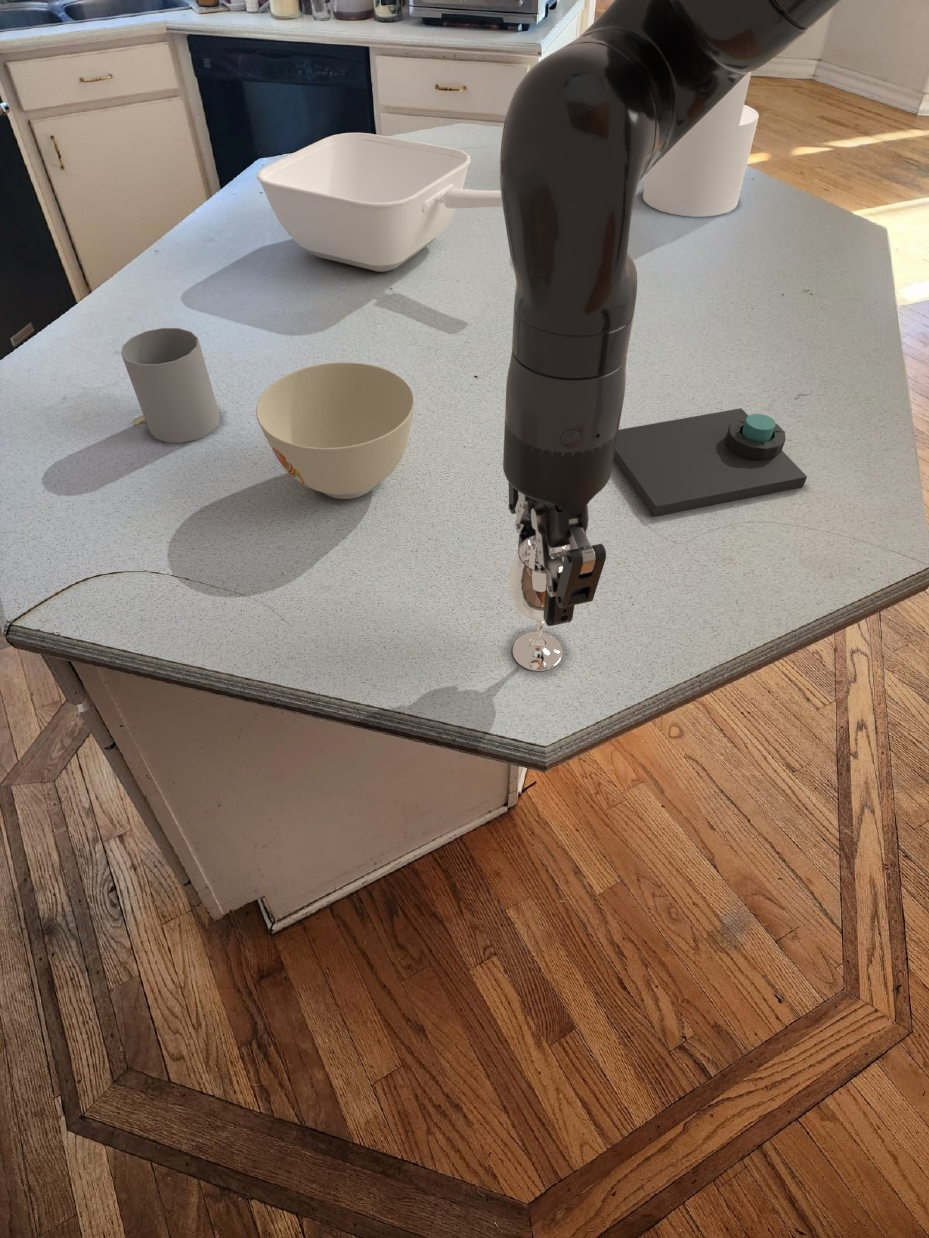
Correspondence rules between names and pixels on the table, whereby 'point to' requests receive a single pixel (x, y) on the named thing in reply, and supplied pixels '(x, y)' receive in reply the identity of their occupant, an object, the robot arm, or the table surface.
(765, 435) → the power button
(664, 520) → the table surface
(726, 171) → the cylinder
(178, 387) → the cup
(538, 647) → the wineglass
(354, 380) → the bowl
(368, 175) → the pan
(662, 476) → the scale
